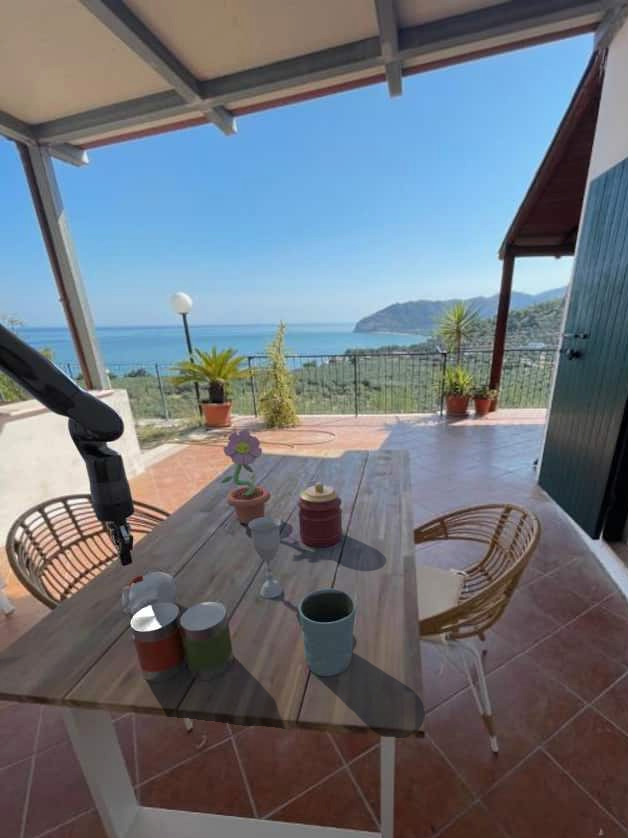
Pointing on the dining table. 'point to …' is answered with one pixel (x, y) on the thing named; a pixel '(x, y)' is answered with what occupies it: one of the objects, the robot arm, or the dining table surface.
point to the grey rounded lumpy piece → (148, 592)
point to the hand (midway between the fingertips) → (126, 563)
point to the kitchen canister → (320, 516)
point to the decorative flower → (250, 497)
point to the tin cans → (182, 641)
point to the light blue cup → (327, 630)
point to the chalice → (267, 549)
